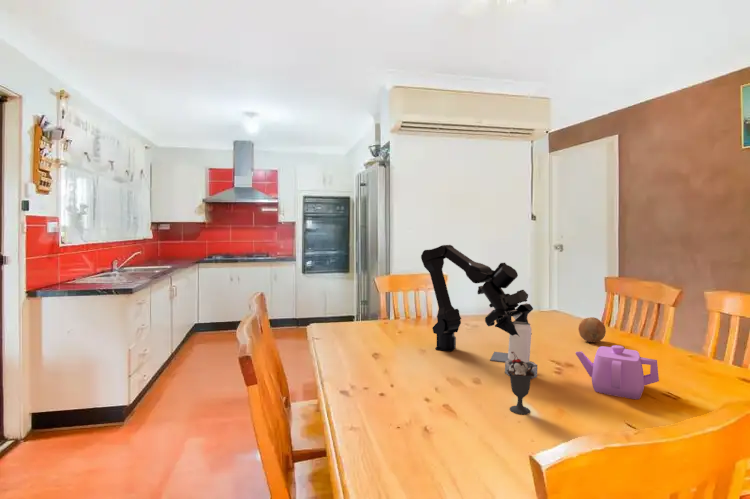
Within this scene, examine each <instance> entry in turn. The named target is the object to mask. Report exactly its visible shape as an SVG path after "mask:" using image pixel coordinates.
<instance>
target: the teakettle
mask: <svg viewBox="0 0 750 499" xmlns="http://www.w3.org/2000/svg"><path fill="white" fill-rule="evenodd" d="M575 355H576V357H577V358H578V359H579V361H580V363H581V364H582V366H583V367H584V369H585V371H586V372H587V374H588V376H589V377H590V378H591V383H592V387H593V390H594V392H595V393H598V392H599V394H603V393H604V395H609V396H614V397H620V398H624V397H625V399H631V400H640V398H641V397H642V394H643V392H644V388H645V386H648V385H650V384H651V385H652V384H654V383H658V382H660V378H659V377H660V376H659V368H658V367H659V366H658V359H652V358H647V357H641V355H640V352H639V351H637V350H633V349H628V348H625V347H624V346H623V345H616V344H615V345H611V346H603V345H602V346H599V347H598V348H597V350H596V352H595V356H594V359H593V362H592V361H591V360H590V359H589V358H588V356H587V355H585V353H584V352H583V351H581V350H580V351H575ZM643 365H647V366H650V369H649V370H650V371H649V372H650V373H648V374H645V375H644V368H643Z"/></svg>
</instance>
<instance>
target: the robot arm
mask: <svg viewBox="0 0 750 499" xmlns="http://www.w3.org/2000/svg"><path fill="white" fill-rule="evenodd" d="M421 253H422V254H421V256H420V258H421V262H422V264H423V267H424V269H426V271H427V272H428V273H429V276H430V279H431V283H432V286H433V290H434V295H435V298H436V302H437V308H438V311H437V314H436V319H437V322H436V323H435V324H434V326H432V333H433V334H434V335H435V334H436V347H435V350H438V351H446V352H453V350H455V348H456V347H457V346H456V344H457V341H456V340H457V337H456V336H455V333H458V331H459V328H460V327H461V324H462V316H461V315H460V310H459V308H455V307H453V306H452V302H451V298H450V295H449V290H448V287H447V283H446V280H445V277H444V272H443V268H444V264H445V259H447V260H449V261H450V262H452V263H453V264H454V265H456V266H457V267H458V268H460V269H461V270H462V271H463V272H465V275H466V277H467V278H468V279H469V280H470V281H471V283H474V284H482V285H479V286H478V289H477V295H483V294H484V295H485V297H486V298H487V300H488V301H489V303H490V304H489V305H488V306H489V307H490V308H494V309H493V310H491V311H490V312H489V313H488V314H487V315H486V316H485V318H484V322H485V324H486V325H487V327H491V326H494V327H495V328H498V329H500V330H502V331H504V332H506V333H507V334H509V335H512V336H513V335H518V333H517V331H516V329H515V326H514V325H513V323H512V322H513V320H512V318H514V321H516V322H525V323H529V320H528V316H529V314H530V313H531V312H532V311H533V310H534V307H533V306H532V305H531V303H526V302H528V298H529V293H527V291H525V289H520V290H517V291H516V292H515V293H512V294H510V293H505V291H504V290H503V289H506V288H508V287H509V286H510V285H511V284H512V283H513V282H514V281H515V280H516V279H517V278H518V272H517V270H516V269H515V268H513V267H512V266H511V265H508V264H507V263H506V262H500V263H499V264H498V266H496V268H495V270H493V269H492V268H491V267H490V266H489V265H486V264H485V263H484V264H483V263H481V262H477V261H474V260H472V259H471V258H469V257H468V256H467V255H465V254H463V253H462V252H461V251H460V250H458V249H456V248H455V247H454V246H453V245H451V244H443V245H439V246H438V247H434V248H430V249H424V250H423V251H422V252H421ZM524 302H525V303H524ZM521 303H522V304H521ZM519 304H520V305H519ZM495 322H496V324H495ZM532 334H533V333H532V332H531V336H532ZM518 336H519V335H518ZM519 337H520V336H519Z"/></svg>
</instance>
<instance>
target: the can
mask: <svg viewBox="0 0 750 499" xmlns="http://www.w3.org/2000/svg"><path fill="white" fill-rule="evenodd" d="M512 323H513V325H514V326H515V329H516V331H517V333H518V335H519V336H520V337H519V336H518V335H513V336H512V335H510V334H509V337H508V351H507V353H508V359H509V360H510V361H512V360H514V359H515V360H517V357H518V359H520V360H521V361H523V362H525V363H528V362H529V361H530V359H531V358H530V356H531V343H532V335H531V333H532V327H531V323H530V322H528V323H525V322H516V321H515V320H512ZM511 352H514V353H515V354H516V355H515V354H514V353H513V354H512V353H511ZM514 355H515V356H514ZM516 356H517V357H516Z"/></svg>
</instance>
